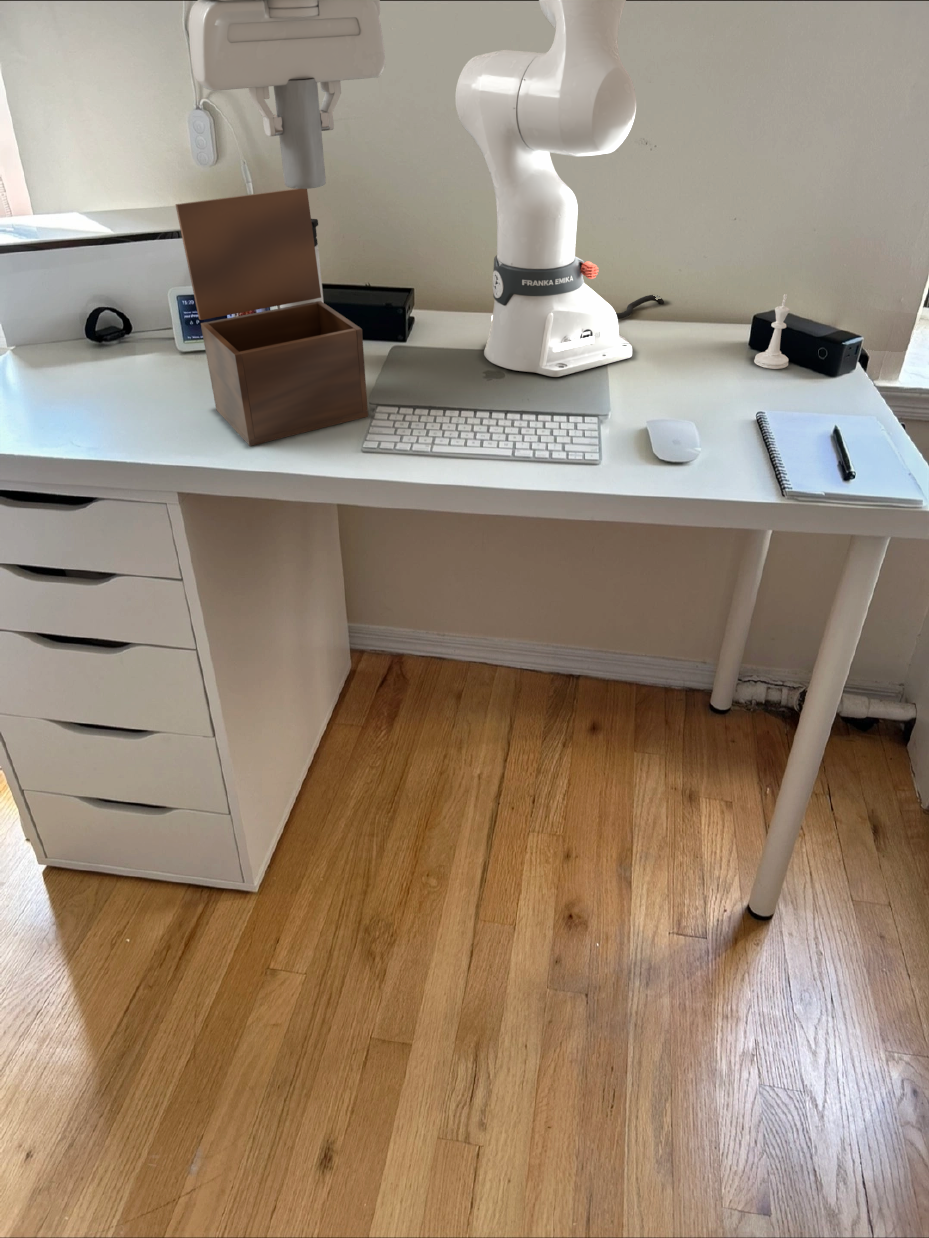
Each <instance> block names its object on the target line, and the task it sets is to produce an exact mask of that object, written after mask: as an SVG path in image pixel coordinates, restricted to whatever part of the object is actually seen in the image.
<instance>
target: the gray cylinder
mask: <svg viewBox="0 0 929 1238" xmlns="http://www.w3.org/2000/svg"><path fill="white" fill-rule="evenodd" d="M273 93H274V95H273V96H274V103H275V111H276V115H278V116H281V117H282V123H283V124H282V128H283V135H279V136H278V138H279V147H280V148H279V149H280V155H281V164H282V165H281V166H282V174H283V181H284V185H285V187H287V188H290V189H307V190H308V189H317V188H321V187H324V186H325V185H326V183H327V182H326V181H327V179H326V167H325V155H324V143H323V131H321V120H320V109H321V107H320V97H319V86H318V82H316V81H315V78H307V79H290V80H288V83H287V84H286V85H280V86H273Z"/></svg>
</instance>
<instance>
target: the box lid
mask: <svg viewBox="0 0 929 1238" xmlns="http://www.w3.org/2000/svg"><path fill="white" fill-rule="evenodd" d="M174 204H175V205H174V206H175V211H176V215H177V219H178V224H179V229H180V233H181V239H182V242H183V243H182V244H183V249H184V253H185V258H186V264H187V268H188V272H189V278H190V282H191V287H192V292H193V297H194V303H195V307H196V311H197V316H198V319H199V320H200V321H204V320H209V319H215V318H221V317H224V316H226V317H227V316H231V315H236V314H241V313H242V314H243V313H247V312H251V311H252V312H253V311H257V310H258V311H259V310H263V309H267V308H273V307H278V306H279V307H280V305H285V304H290V303H295V302H301V301H306V300H311V299H317V298H321V292H320V284H319V276H318V269H317V261H316V253H315V246H314V238H313V230H312V223H311V219H312V216H311V209H310V200H309V193H308V189H296V188H290V189H282V190H273V191H266V192H259V193H251V194H244V195H235V196H228V197H220V198H212V199H205V200H204V199H203V200H197V201H190V202H181V203H174Z"/></svg>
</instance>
